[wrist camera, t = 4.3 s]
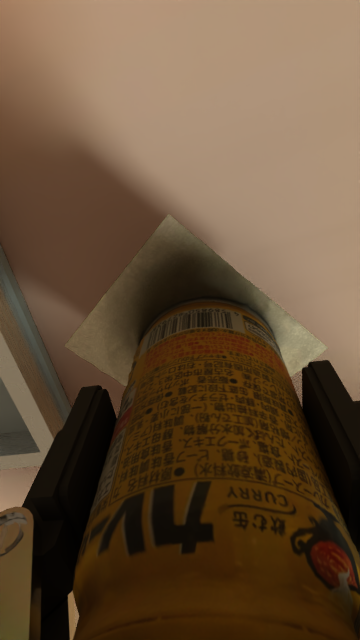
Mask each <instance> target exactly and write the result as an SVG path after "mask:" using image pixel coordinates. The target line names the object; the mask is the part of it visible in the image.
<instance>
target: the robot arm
mask: <svg viewBox="0 0 360 640" xmlns="http://www.w3.org/2000/svg"><path fill="white" fill-rule="evenodd" d="M302 409H303V412H304V415H305V418H306V420H307V423H308V425H309V428H310V430H311V433H312V436H313V438H314V441H315V444H316V447H317V449H318V452H319V455H320V457H321V460H322V462H323V465H324V468H325V470H326V473H327V475H328V478H329V481H330V484H331V487H332V489H333V492H334V495H335V497H336V500H337V502H338V505H339V508H340V511H341V513H342V515H343V518H344V520H345V523H346V525H347V528H348V531H349V534H350V537H351V539H352V542H353V544H354V545H355V547H356V549H357V551H358V554H359V558H360V401H354V402H353V400H352V399H351V397H350V395H349V394H348V392H347V390H346V389H345V387H344V385H343V384H342V382H341V380H340V378H339V377H338V375H337V373H336V372H335V370H334V368H333V367H332V365H331V363H330V362H329V361H328V360H323V361H314V362H309V363H308V367H303V368H302ZM116 420H117V418H116V415H115V412H114V409H113V406H112V403H111V400H110V397H109V394H108V391H107V390H106V389H102V387H101V386H99V385H98V386H89V387H83V388H81V390H80V392H79V394H78V396H77V399H76V401H75V403H74V405H73V407H72V409H71V411H70V413H69V416H68V418H67V420H66V422H65V424H64V426H63V428H62V430H60V431H59V432H58V433H57V435H56V436H55V438H54V440H53V442H52V445H51V447H50V449H49V451H48V453H47V455H46V457H45V459H44V461H43V463H42V465H41V468H40V470H39V472H38V474H37V476H36V478H35V480H34V482H33V484H32V486H31V488H30V490H29V493H28V495H27V497H26V499H25V501H24V503H23V505H22V507H13V508H9V509H6V510H4V511H2V512H0V640H73V637H74V634H75V631H76V623H75V605H74V595H73V584H74V580H73V576H74V570H75V566H76V563H77V559H78V554H79V550H80V548H81V544H82V540H83V535H84V532H85V529H86V526H87V523H88V520H89V516H90V510H91V508H92V505H93V501H94V498H95V495H96V491H97V488H98V482H99V479H100V477H101V474H102V471H103V465H104V463H105V460H106V456H107V452H108V450H109V447H110V442H111V439H112V435H113V432H114V427H115V423H116Z"/></svg>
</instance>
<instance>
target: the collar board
mask: <svg viewBox="0 0 360 640" xmlns="http://www.w3.org/2000/svg"><path fill="white" fill-rule="evenodd" d="M70 411H71V406H70V404H69V402H68V399H67V397H66V395H65V392H64V390H63V388H62V386H61V383H60V381H59V379H58V376H57V374H56V372H55V369H54V367H53V365H52V362H51V360H50V358H49V355H48V353H47V351H46V349H45V346H44V344H43V342H42V339H41V337H40V335H39V332H38V330H37V328H36V325H35V323H34V321H33V319H32V316H31V314H30V312H29V309H28V307H27V305H26V302H25V300H24V298H23V295H22V293H21V291H20V289H19V286H18V284H17V282H16V279H15V277H14V275H13V272H12V270H11V268H10V265H9V263H8V261H7V258H6V256H5V254H4V252H3V249H2V247H1V245H0V470H4V469H14V468H24V467H33V466H41V465H42V463H43V461H44V459H45V457H46V455H47V453H48V451H49V449H50V447H51V445H52V442H53V440H54V438H55V436H56V435H57V433H58V432H59V431H60V430H62V428H63V426H64V424H65V422H66V420H67V418H68V416H69V413H70Z"/></svg>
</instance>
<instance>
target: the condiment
mask: <svg viewBox="0 0 360 640" xmlns="http://www.w3.org/2000/svg"><path fill="white" fill-rule="evenodd" d="M65 347H66V348H68V349H69V350H71V351H73V352H74V353H75V354H76V355H78V356H79V357H81V358H82V359H84V360H86V361H88V362H90V363H91V364H93V365H94V366H96V367H97V368H98V369H99V370H100V371H102V372H103V373H105V374H108V375H110V376H111V377H113V378H114V379H116V380H117V381H118V382H119V383H121V384H122V385H124V386H126V389H125V391H124V393H123V396H122V402H121V407H120V412H119V415H118V418H117V420H116V423H115V427H114V432H113V435H112V439H111V442H110V447H109V450H108V452H107V456H106V460H105V463H104V465H103V471H102V474H101V477H100V479H99V482H98V488H97V491H96V495H95V498H94V501H93V505H92V508H91V510H90V516H89V520H88V523H87V526H86V529H85V532H84V535H83V540H82V544H81V548H80V550H79V554H78V559H77V563H76V566H75V570H74V576H73V580H74V584H73V595H74V598H75V602H76V606H77V609H78V612H79V620H78V623H77V627H76V631H75V634H74V637H73V640H360V558H359V554H358V551H357V549H356V547H355V545H354V544H353V542H352V539H351V537H350V534H349V531H348V528H347V525H346V523H345V520H344V518H343V515H342V513H341V511H340V508H339V505H338V502H337V500H336V497H335V495H334V492H333V489H332V487H331V484H330V481H329V478H328V475H327V473H326V470H325V468H324V465H323V462H322V460H321V457H320V455H319V452H318V449H317V447H316V444H315V441H314V438H313V436H312V433H311V430H310V428H309V425H308V423H307V420H306V418H305V415H304V412H303V409H302V407H301V404H300V402H299V399H298V396H297V394H296V391H295V388H294V386H293V383H292V380H291V378H290V377H292V376H293V375H294V374H296V373H297V372H299V371H300V370H302V368H303V367H305V366H306V365H308V363H309V362H312V361H313V360H314V359H315V358H317V357H318V356H319V355H320V354H321V353H323V352H324V351H325V350H326V349H327V347H326V346H325V345H324V344H323V343H322V342H320V341H319V340H318V339H317V338H316V337H315V336H313V335H312V334H311V333H310V332H309V331H308V330H306V329H305V328H304V327H303V326H302V325H301V324H300V323H298V322H297V321H296V320H295V319H293V318H292V317H291V316H290V315H289V314H288V313H287V312H285V311H284V310H283V309H282V308H281V307H280V306H278V305H277V304H276V303H275V302H274V301H272V300H271V299H270V298H269V297H268V296H267V295H265V294H264V293H263V292H262V291H260V290H259V289H258V288H257V287H255V286H254V285H253V284H252V283H251V282H250V281H248V280H247V279H245V278H244V277H243V276H242V275H241V274H239V273H238V272H237V271H236V270H235V269H234V268H233V267H232V266H230V265H229V264H228V263H227V262H226V261H224V260H223V259H222V258H221V257H220V256H219V255H217V254H216V253H215V252H214V251H213V250H212V249H211V248H209V247H208V246H207V245H206V244H204V243H203V242H202V241H201V240H199V239H198V238H197V237H195V236H194V235H193V234H192V233H190V232H189V231H188V230H187V229H186V228H185V227H184V226H183V225H181V224H180V223H179V222H178V221H177V220H175V219H174V218H173V217H172V216H171V215H170V214H168V215H167V216H166V218H165V219H164V220H163V221H162V223H161V224H160V225H159V226H158V228H157V229H156V231H155V232H154V233H153V234H152V235H151V236H150V238H149V239H148V240H147V242H146V243H145V244H144V245H143V247H142V248H141V249H140V250H139V252H138V253H137V254H136V255H135V257H134V258H133V259H132V261H131V262H130V263H129V264H128V265H127V267H126V268H125V269H124V271H123V272H122V273H121V275H120V276H119V277H118V278H117V279H116V281H115V282H114V283H113V285H112V286H111V287H110V288H109V290H108V291H107V292H106V293H105V294H104V296H103V297H102V298H101V300H100V301H99V302H98V304H97V305H96V306H95V308H94V309H93V310H92V311H91V313H90V314H89V315H88V316H87V318H86V319H85V320H84V321H83V323H82V324H81V325H80V327H79V328H78V329H77V330H76V332H75V333H74V334H73V336H72V337H71V338H70V339H69V341H68V342H67V343H66V344H65Z"/></svg>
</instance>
